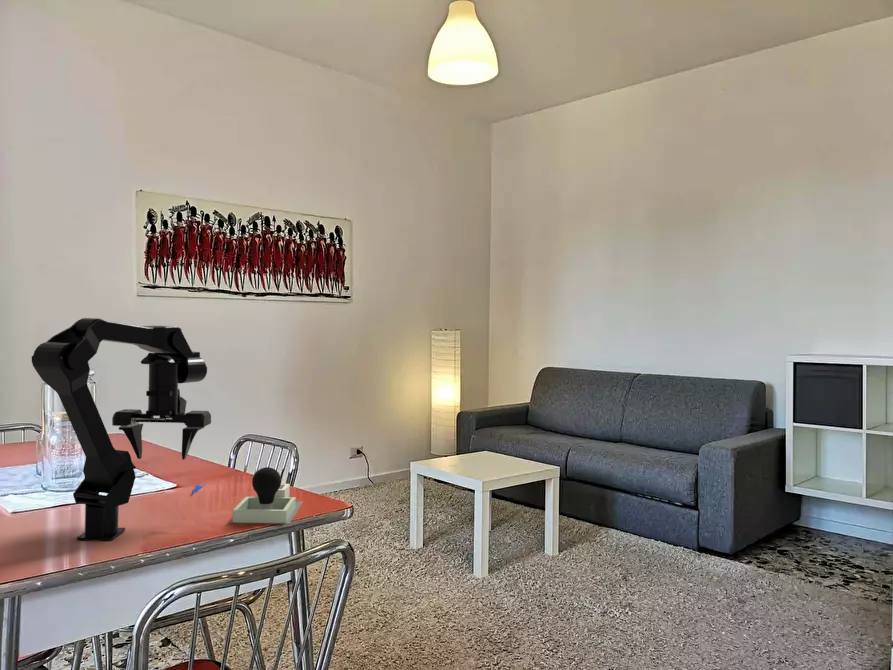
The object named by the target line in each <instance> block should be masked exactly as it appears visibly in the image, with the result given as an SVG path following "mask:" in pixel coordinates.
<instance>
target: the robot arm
mask: <svg viewBox="0 0 893 670" xmlns="http://www.w3.org/2000/svg"><path fill="white" fill-rule="evenodd" d="M103 341H104V342H112V343H118V344H119V343H120V344H126V345H134V346H136V347H138V348H139V349H141V350H144V351H147V352H148V354H146V356H145V357H144V358H143V359H142V360H140V364H141V365H148V390H146V392H145V393H146V394H145V395H146V397H147V398H148V400H147V401H148V404H147V410H146V411H145V413H143V412H142V410H141V409H133V408H132V409H131V408H129V409H127V408H126V409H121V410H117V411H116V412H114V413H113V414H112V418H111V419H112V420H111V421H112V423H111V426H114V427H115V426H116V427H118V430H119V431H123V432H124V435H125V436H126V437H127V439H128V441H129V444H130V445H131V447H132V449H133V452H134V453H135V456H136V458H137V459H138V460H141V459H142V458H143V457H142V456H143V442H142V440H143V438H142V436H143V435H142V431H143V427H144V423H165V424H167V423H169V424H172V423H173V424H184V425H185V426H186V427H184V428H182V432H181V433H182V436H181V439H182V440H181V442H182V443H181V459H182V460H184V461H185V460H186V459H187V456H188V454H189V451H190V449H191V446H192V443H193V441H194V438H195V436H196V435H197V433H198V432H199V431H200V430H202V429H204V428H205V427H207V426H209V425H211V424H212V415H211V413H210V412H209V411H208V410H191V411H188V412H186V408H187V402H188V401H187V400H186V399H185V398H184V397H182V396H181V395H180V394H181V390H180V388H179V384H186V383H187V384H189V383H197V382H201V381H203V380H204V379H205V378H206V376H207V374H208V366H207V364H206V362H205V360H204V359H203V358H201V353H200V351H192V349H191V346H190V345H189V343H188V341H187V338H185V335H184V333H183V331H182V328H180V327H179V326H176V325H142V326H139V325H134V324H128V323H121V322H114V321H108V320H104V319H102V318H99V317H98V318H96V317H95V318H94V317H93V318H92V317H83V318H80V319H79V320H77V321H76V322H74V323H73V324H72V325H71V326H70V327H68V328H65V329H64V330H61V332H59V333H56V334H55V335H53V336H51V337H50V338H49V339H48V340H46V342H42V343H40V344H39V345H38V346H37V347H36V348H35V349H34V352H33V355H32V356H31V365H32V367H33V368H34V370H35V372H36V373H37V374H38V376H39V377H40V379H41V380H42V381H43V382H44V383H45V384H46V385H48V387H50V388H51V389H52V390H53V391H55V393H57V394H58V397H59V399H60V401H61V403H62V406H63V409H64V411H65V412H66V413H65V414H66V415H67V418H68V420H69V422H70V424H71V426H72V429H73V431H74V433H75V436H76V438H77V440H78V443H79V445H80V447H81V449H82V451H83V453H84V456H85V461H84V465H83V468H82V471H83V476H84V477H83V478H84V479H82V480H81V482H80V484H79V485H78V486H77V488H76V489H75V491H73V493H72V495H73V498H74V502H75V504H80V505H81V504H82V505H85V506H84V532H83V533H81V534H79V535H78V536H76V540H78V541H88V540H89V541H112V540H114V539H115V538H116V537H118V536H120V535H121V534H122V533H124V532H125V531H126V527H119V510H120V509H119V506H123V505H125V504H129V501H130V500H131V499H130V498H131V495H132V491H133V488H134V485H135V480H136V472H135V469H137V466H135V464H134V463H133V461H132V457H131V454H130V452H129V451H128V450H123V449H122V450H120V449H115V447H114V445H113V443H112V441H111V439H110V436H109V434H108V431H107V428H106V427H105V424H104V421H103V420H102V417H101V415H100V413H99V410H98V407H97V405H96V401H95V400H94V397H93V396H92V393H91V391H90V388H89V386H88V380H89V376H90V371H91V368H90V364H89V362H90V360H91V359H93V357H94V356H95V355H96V354H97V353H98V350H99V347H100V345H101V342H103ZM100 493H104V494H106V495H103V494H100Z"/></svg>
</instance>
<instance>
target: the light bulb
mask: <svg viewBox="0 0 893 670" xmlns="http://www.w3.org/2000/svg"><path fill="white" fill-rule="evenodd" d="M251 484H252V488H253V491H254V492H255V493H256V494H257V497H258V498H259V502H260V509H272V503H273V501H274V496H275V494H276V492H277V491H278V489H279V488H280V485H281V484H282V478H281V474H280V473H279V471H278V470H276V469H275V468H273V467H270V466H269V467H262V468H260V469H258V470H257V471H255V473H254V475H253V477H252V480H251Z"/></svg>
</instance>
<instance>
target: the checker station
mask: <svg viewBox="0 0 893 670" xmlns="http://www.w3.org/2000/svg"><path fill="white" fill-rule="evenodd" d="M290 485H291V484H290V483H281V489H278V491H277V492H276V494H275V496H274V501H273V503H272V509H260V502H259V498H258V496H245V497H243V499H242V500H241V502H239V503H238V504H237V505H236V506H235V507H234V508H233V509H232V519H231V520H230V521H229V522H228V523H229V524H274V525H275V524H279V525H280V524H281V525H286V524H287V525H288V524H290V523H291V522H292V521H293V519H294V518H295V515H297V512H298V511H299V509H300V508H301V506H302V504H303V503H304V501H296V499H297V497H296V496H295V497H293V496H292V497H291V496H290V489H291V487H290Z"/></svg>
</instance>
